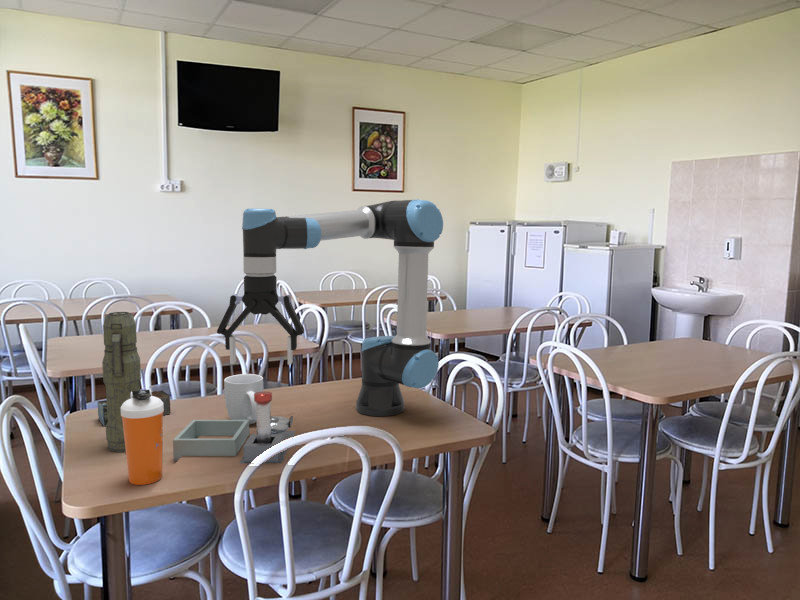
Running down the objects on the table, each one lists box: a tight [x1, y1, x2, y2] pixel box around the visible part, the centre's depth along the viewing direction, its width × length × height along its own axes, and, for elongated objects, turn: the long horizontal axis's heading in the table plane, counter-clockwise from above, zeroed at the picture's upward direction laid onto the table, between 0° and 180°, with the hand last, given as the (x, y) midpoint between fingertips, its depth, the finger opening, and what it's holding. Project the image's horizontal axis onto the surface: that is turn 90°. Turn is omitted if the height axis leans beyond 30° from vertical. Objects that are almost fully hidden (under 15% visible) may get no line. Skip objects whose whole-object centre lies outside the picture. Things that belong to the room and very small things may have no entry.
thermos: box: [101, 311, 142, 453], centre depth 153 cm, size 9×12×35 cm
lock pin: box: [254, 390, 273, 444], centre depth 145 cm, size 4×4×16 cm
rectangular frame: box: [172, 419, 250, 463], centre depth 153 cm, size 15×15×6 cm
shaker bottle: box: [121, 389, 164, 486], centre depth 135 cm, size 9×9×20 cm
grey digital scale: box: [239, 415, 296, 464], centre depth 152 cm, size 22×10×7 cm, turn 1°
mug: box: [223, 373, 264, 426], centre depth 172 cm, size 15×11×13 cm
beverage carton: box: [96, 390, 171, 427], centre depth 178 cm, size 8×19×7 cm, turn 128°
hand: (261, 363), depth 143 cm, fingers open, 13 cm apart
